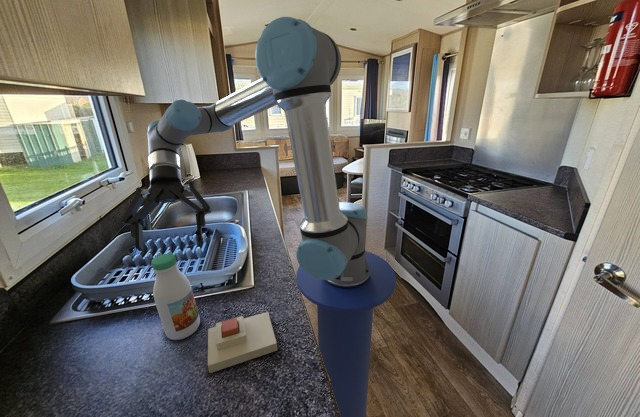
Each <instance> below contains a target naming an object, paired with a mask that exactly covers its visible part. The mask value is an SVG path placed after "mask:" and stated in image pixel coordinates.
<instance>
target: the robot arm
mask: <svg viewBox="0 0 640 417" xmlns="http://www.w3.org/2000/svg"><path fill="white" fill-rule="evenodd" d="M255 65H256V69H257V72H258V74H259V76H260V78H259V79H257V80H255V81H253V82H251V83H249V84H248V85H245V86H244V87H242V88H240V89H239V90H236V91H235V92H233V93H231V94H229V95H228V96H226V97H223V98H222V99H220V100H218V101H216V102H215V103H213V104H211V105H209V106H197V105H196V104H195V103H193V102H192V101H189V100H187V99H184V98H178V99H175V100H174V101H173V102H172V103H171V104H170V106H168V107H167V108H166V109H165V112H164V114H163V115H162V117H161V118H160V119H155V121H151V122H149V124H148V126H147V133H146V136H147V146H148V147H147V148H148V167H149V169H148V170H149V187H148V188H142V187H140V186H138V187H136V188H135V194H134V197H133V198H132V200H131V202H130V204H128V206H127V209H126V210H125V212H124V213H123V215H122V217H121V219H120V221H121V222H122V223H123V224H124V225H125V226H129V227H130V236H131V237H132V238H133V239H134V240H135V244H134V245H135V249H136V250H137V251H139V252H141V251H142V252H143V251H144V230H143V228H144V227H143V225H142V224H141V223H142V222H143V221H144V220H145V219H146V218H147V217H148V215H149V214H151V212H152V211H153V210H154V209H155V207H158V205H160V204H162V205H163V204H166V203H167V204H168V203H176V202H177V201H179V202H180V203H182V204H184V205H185V206H186V207H188V208H189V209H190V210H192V211H193V212H194V213H195V221H196V232H197V238H198V240H199V241H203V240H204V236H203V228H204V227H206V225H207V224H206V215H208V214H211V213H212V208H211V206H210V205H209V203H208V202H207V201H206V200H205V199H204V197H203V196H202V195H201V193H200V192H199V191H198V190H197V187H196V186H195V183H194V181H189V182H188V183H186V184H183V179H182V178H183V177H182V171H181V170H182V167H181V159H180V147H181V146H182V145H183V144H184V142H185V141H187V139H188V138H189V137H190V136H197V135H204V134H205V135H206V134H213V133H223V132H226V131H229V130H231V129H233V127H234V125H235V124H239V123H241V122H243V121H245V120H247V119H249V118H251V117H253V116H255V115H258V114H260V113H262V112H264V111H267V110H269V109H271V108H274V107H276V106H278V107H279V108H280V109H281V110H283V113H284V116H285V122H286V126H287V132H288V138H289V142H290V148H291V153H292V159H293V163H294V168H295V175H296V179H297V184H298V190H299V195H300V201H301V206H302V211H303V216H304V217H303V218H302V220H301V221H300V223H299V230H300V235H301V240H302V241H301V242H300V243H299V244H298V246H297V249H296V251H295V252H296V253H295V254H296V255H295V256H296V260H297V263H298V266H301V268H302V269H303V270H304V271H305V272H307V273H308V274H309V275H311V276H312V277H314V278H317V279H320V280H324V281H325V282H326V283H328V284H329V285H331V286H334V287H337V288H342V289H351V288H357V287H360V286H362V285H364V284H365V283H366V282H367V281H368V280H369V277H370V267H369V264H368V261H367V258H366V255H365V251H366V241H367V220H368V217H367V216H368V213H367V212H368V211H367V209H366V207H365V206H363V205H362V204H358V203H354V202H347V201H346V202H345V201H344V202H342V201H341V202H340V201H339V199H340V198H339V194H338V184H337V179H336V171H335V164H334V157H333V150H332V143H331V136H330V128H329V121H328V114H327V106H326V105H327V102H328V100H329V99H330V98H331V96H332V88H331V86H332V85H333V84H334V83H335V82H336V80H337V78H338V77H339V75H340V73H341V72H340V71H341V68H342V55H341V52H340V49H339V46H338V44H337V43H336V42H335V40H334V39H333V38H332V37H331V36H330V35H329V34H327V33H326V32H323V31H321V30H319V29H317V28H314V27H313V26H311V25H310V24H309V23H308V22H306V21H305V20H303V19H301V18H295V17H292V16H281V17H277V18H275V19H274V20H272V21H270V22H269V23H268V24H267V25H266V26H265V27H264V29H263V30H262V31H261V35H260V37H259V38H258V41H257V43H256V47H255ZM185 190H187V191H188V192H189V193H191V194H192V196H193V197H194V198H195V200H196V201H197V202H198V203H199V205H200V206H201V207H202V208H201V207H200V206H199V205H197V204H196V203H194V201H192V200H191V199H189V198H188V197H187V196H185V195H184V194H183V193H184V192H185ZM148 195H150V196H149V197H148V199H147V201H146V202H145V203H144V204H143V202H144V200H145V198H147V196H148ZM142 204H143V205H142Z"/></svg>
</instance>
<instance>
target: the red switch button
mask: <svg viewBox="0 0 640 417" xmlns="http://www.w3.org/2000/svg"><path fill="white" fill-rule="evenodd" d="M221 322H222V334H223V338H225V337H228V336H231V335H235V334H238V333H239V332H238V323H237V317H233V318H230V319H226V320H222V321H221Z"/></svg>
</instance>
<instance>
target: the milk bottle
mask: <svg viewBox="0 0 640 417" xmlns="http://www.w3.org/2000/svg"><path fill="white" fill-rule="evenodd" d="M150 264H151V267H152V269H153V272H155V279H154V283H153V290H152V296H153V300H154V303H155V304H154V305H155V307H156V310H157V313H158V316H159V319H160V323H161V325H162V328H163V332H164V334H165V336H166V337H167V338H168V339H170V340H173V341H178V340H183V339H185V338H188V337H190V336H191V335H193V334H194V333H195V332H196V331H197V330H198V328H199V326H200V324H201V318H200V314H199V309H198V306H197V302H196V298H195V295H194V291H193V288H192V285H191V282H190V280H189V278H188V277H187V276H186V275H185V274H184V273H183V272H182V271H181V270H180V269H179V267H178V266H177V265H178V261H177V257H176V255H175V254H174V253H170V252H169V253H168V252H167V253H162V254H159V255H157V256H155V257H154V258H153V259H152V260H151V263H150Z"/></svg>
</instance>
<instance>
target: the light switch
mask: <svg viewBox="0 0 640 417" xmlns="http://www.w3.org/2000/svg"><path fill="white" fill-rule="evenodd" d="M236 318H237V323H238V332H239V333H238V334H235V335H231V336H228V337H225V338H223V334H222V321H220V322H216V323H215V326H212V327H209V328H208V329H207V369H208V373H209V374H212V373H215V372H218V371H221V370H223V369H226V368H230V367H233V366H236V365H239V364H242V363H245V362H247V361H251V360H253V359H257V358H259V357H262V356H265V355H269V354H270V353H273V352H276V351H278V343H277V339H276V335H275V332H274V328H273V324H272V320H271V318H270V313H269V311H265V312H262V313H259V314H258V313H257V314H255V315H251V316H248V317H245V318H244V315H241V316H237V317H236Z"/></svg>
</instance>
